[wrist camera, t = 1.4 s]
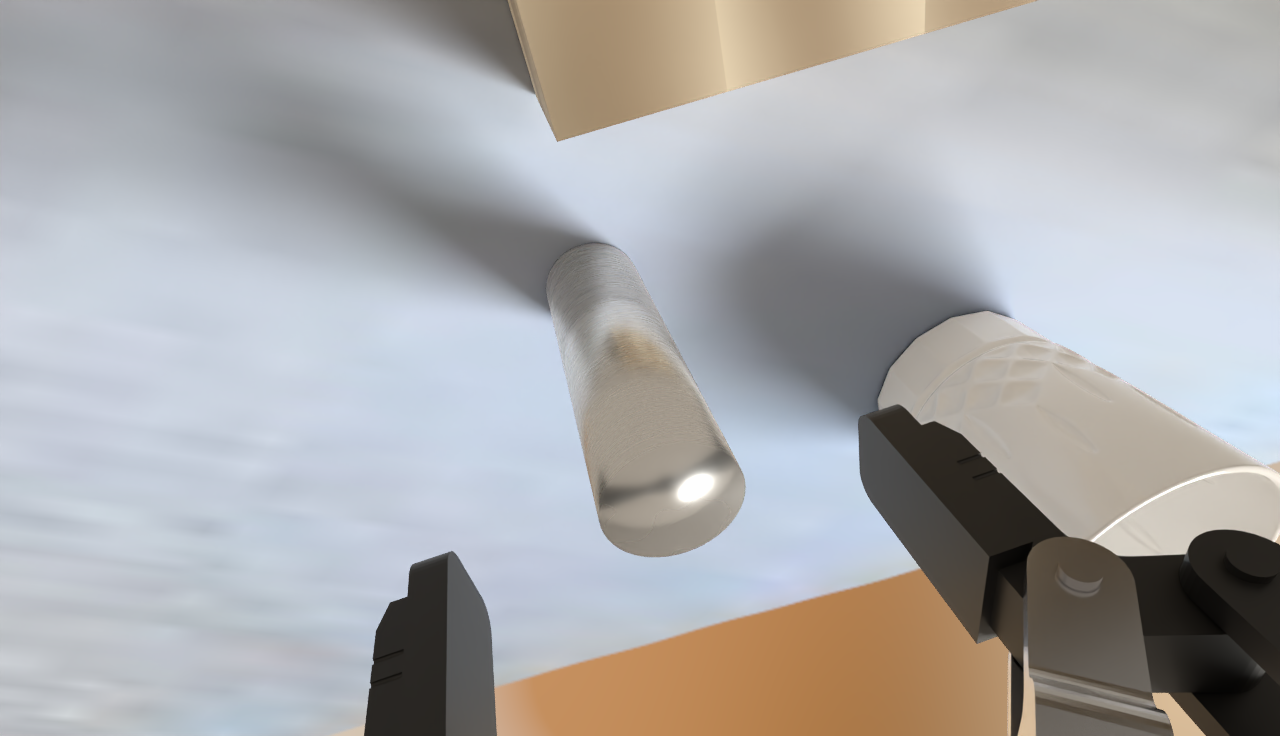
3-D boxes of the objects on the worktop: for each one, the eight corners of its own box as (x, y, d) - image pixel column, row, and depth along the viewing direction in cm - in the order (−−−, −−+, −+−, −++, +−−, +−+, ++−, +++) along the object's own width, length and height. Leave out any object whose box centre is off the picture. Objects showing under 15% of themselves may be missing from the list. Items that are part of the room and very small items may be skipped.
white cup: (1077, 320, 27) (1346, 487, 19) (967, 468, 30) (1153, 663, 22) (931, 274, 24) (1173, 446, 16) (828, 442, 28) (983, 656, 19)
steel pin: (626, 231, 21) (734, 424, 12) (647, 312, 22) (753, 529, 14) (534, 259, 20) (580, 474, 12) (561, 339, 22) (618, 574, 14)
